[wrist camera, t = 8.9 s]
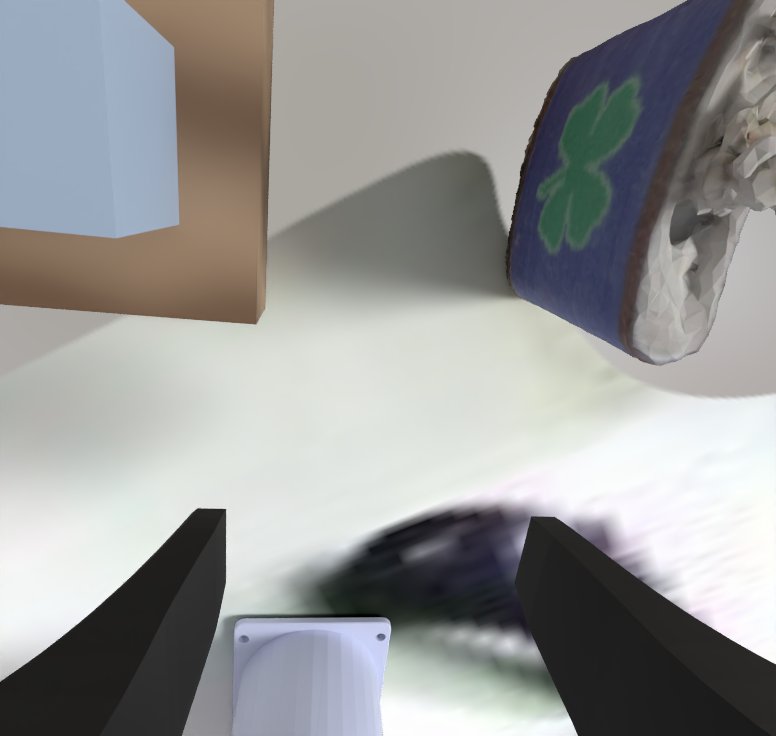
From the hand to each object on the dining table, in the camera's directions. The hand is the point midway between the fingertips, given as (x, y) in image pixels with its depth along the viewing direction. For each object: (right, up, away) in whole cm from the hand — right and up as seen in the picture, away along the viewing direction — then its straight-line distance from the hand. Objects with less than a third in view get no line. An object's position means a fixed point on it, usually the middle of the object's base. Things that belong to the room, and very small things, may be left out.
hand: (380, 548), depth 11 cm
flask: (+7, +12, +8) cm, 16 cm away
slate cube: (-9, +11, +3) cm, 15 cm away
